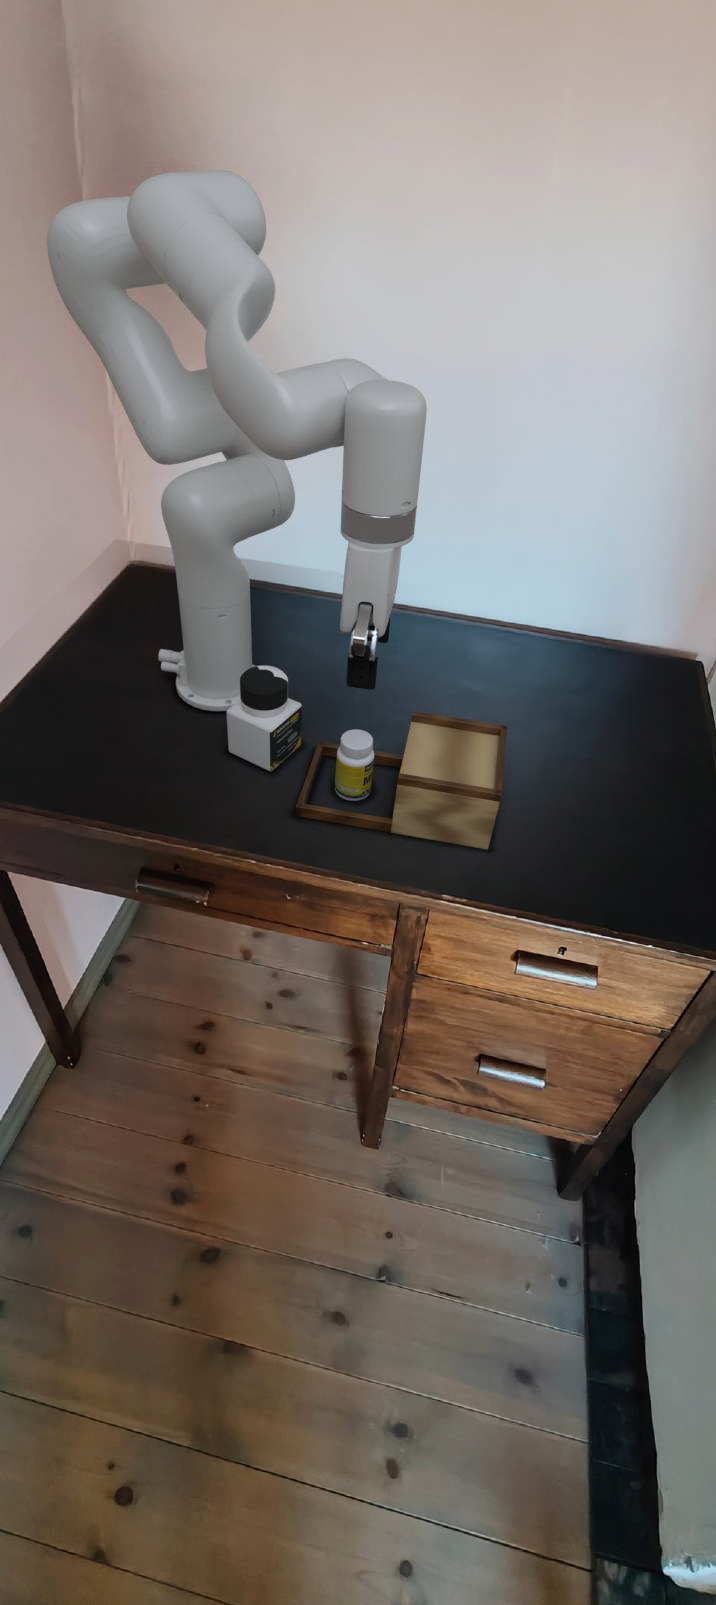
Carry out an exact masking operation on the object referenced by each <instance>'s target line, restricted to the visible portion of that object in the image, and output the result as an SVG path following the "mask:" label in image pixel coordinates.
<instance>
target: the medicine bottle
mask: <svg viewBox="0 0 716 1605" xmlns="http://www.w3.org/2000/svg"><path fill="white" fill-rule="evenodd" d="M240 698H241V699H240V700H239V701H238V702H237V703H235V704H234V705H233V706H232V707H230V708H229V709H228V710H227V711H226V726H227V727H226V729H227V744H228V752H229V753H230V754H232V755H234V756H237V757H238V758H241V759H243V760H245V761H247V762H249V763H251V764H254V765H256V766H258V767H260V768H262V769H264V770H266V771H268V772H273V771H274V770H275V769H276V768H277V767H278V766H280V764H281V763H283V762H284V761H285V760H286V759H287V758H289V756H290V755H291V754H293V753H294V752H295V751H296V750H297V749H298V748H299V747H300V746H301V744H302V717H303V716H302V715H303V714H302V712H303V711H302V710H303V709H302V708H303V705H302V703H301V702H299V701H296V700H294V699H292V698H290V697H289V678H288V676H287V674H286V673H285V672H284V671H283V670H281V669H280V668H278V667H275V666H271V665H255V667H252V668H250V669H248V670H246V671H245V672H244V673H243V674H242V675H241V677H240Z"/></svg>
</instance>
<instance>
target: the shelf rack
mask: <svg viewBox="0 0 716 1605" xmlns="http://www.w3.org/2000/svg"><path fill="white" fill-rule="evenodd" d="M507 734H508V726H507V725H504V724H503V725H502V724H497V723H491V722H484V721H477V720H474V719H473V720H472V719H466V718H462V717H461V718H460V717H454V716H447V715H443V714H435V713H429V712H424V711H417V710H412V714H411V719H410V724H409V730H408V733H407V738H406V743H405V747H404V752H403V755H401V754H395V753H389V752H383V751H377V750H373V751H374V765H379V766H385V767H391V768H396V769H399V773H398V776H397V782H396V784H397V785H396V789H395V790H396V792H395V797H394V805H393V812H392V818H388V817H382V816H377V815H372V814H365V813H360V812H353V811H349V810H343V809H338V808H337V809H336V808H331V807H325V806H320V805H314V804H308V800H309V796H310V794H311V791H312V788H313V786H314V782H315V779H316V777H317V773H318V770H319V767H320V764H321V761H322V758H323V756H327V757H333V758H337V751H338V748H339V747H340V744H335V743H329V742H324V741H318V742H317V744H316V747H315V751H314V753H313V756H312V759H311V762H310V764H309V768H308V771H307V774H306V777H305V779H304V782H303V785H302V788H301V791H300V794H299V797H298V800H297V802H296V805H295V816H297V817H300V818H307V819H313V820H319V821H323V822H324V821H325V822H330V823H334V824H341V825H347V826H353V827H357V828H363V829H370V830H373V831H380V832H386V833H392V834H398V835H403V836H409V837H415V838H420V839H426V840H430V841H431V840H432V841H436V842H442V843H447V844H454V845H460V846H466V847H470V848H477V849H482V850H489V846H490V843H491V838H492V834H493V830H494V827H495V822H496V819H497V815H498V811H499V807H500V802H501V800H502V794H503V783H504V772H505V771H504V769H505V761H506V760H505V759H506V747H507V736H508V735H507Z"/></svg>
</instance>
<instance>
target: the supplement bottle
mask: <svg viewBox="0 0 716 1605" xmlns="http://www.w3.org/2000/svg"><path fill="white" fill-rule="evenodd" d="M339 745H340V747H339V748H338V751H337V757H336V760H335V761H336V762H335V775H334V776H335V777H334V791H335V793H336V795H337V796H338V797H339V798H341V799H343V800H346V801H350V802H358V801H362V800H365V799H366V798H367V797H369V795H370V793H371V790H372V783H373V774H374V765H375V764H374V751H375V750H374V738H373V736H372V735H371V734H370V733H369V732H368V731H366V730H363V729H349V730H346V731H345V732H343V734H341V737H340V744H339Z"/></svg>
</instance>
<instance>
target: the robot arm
mask: <svg viewBox="0 0 716 1605" xmlns="http://www.w3.org/2000/svg"><path fill="white" fill-rule="evenodd" d="M46 237H47V238H46V245H47V246H46V247H47V256H48V262H49V267H50V272H51V275H52V277H53V280H54V284H55V286H56V289H57V291H58V292H57V293H58V294H59V297H60V298H61V300H62V302H63V305H64V306H65V308H66V310H67V312H68V314H69V315H70V316H71V318H72V320H73V321H74V323H75V324H76V326H77V327H78V329H79V330H80V331H81V333H82V334H83V336H84V337H85V338H86V340H87V341H88V342H89V344H90V345H91V347H92V348H93V350H94V351H95V353H96V355H97V356H98V358H99V359H100V362H101V363H102V365H103V367H104V369H105V371H106V373H107V375H108V377H109V380H110V382H111V384H112V386H113V388H114V392H115V393H116V395H117V398H118V399H119V401H120V403H121V405H122V407H123V410H124V412H125V414H126V416H127V418H128V420H129V422H130V424H131V426H132V428H133V431H134V433H135V434H136V437H137V439H138V440H139V443H140V445H141V447H142V448H143V449H144V451H145V452H146V454H147V456H149V457H150V459H151V460H153V462H155V463H157V464H159V465H163V466H165V465H166V466H171V465H178V464H183V463H187V462H190V461H194V460H195V461H196V460H198V459H202V458H205V457H208V456H212V455H215V454H219V453H221V454H222V456H223V457H224V458H225V460H223V461H218V462H215V463H211V464H208V465H204V466H200V467H198V468H197V467H196V468H194V469H192V470H191V469H190V470H189V471H186V472H183V473H181V474H180V475H178V476H177V477H175V478H174V479H172V480H171V481H170V482H169V483H168V485H166V487H165V488H164V491H163V492H162V495H161V500H160V508H161V515H162V519H163V523H164V526H165V530H166V533H167V536H168V541H169V543H170V547H171V552H172V557H173V562H174V569H175V578H176V586H177V594H178V595H177V596H178V605H179V614H180V615H179V616H180V626H181V638H182V646H183V647H182V648H183V649H182V650H181V651H174V650H171V649H164V648H160V649H159V651H158V656H157V657H158V659H157V660H158V662H159V663H161V664H160V671H162V672H167V673H175V674H176V678H175V687H176V688H175V689H176V692H177V694H178V696H179V698H181V699H182V701H184V702H185V703H186V704H188V705H190V706H191V707H193V708H197V709H200V710H203V711H209V712H227V710H228V709H229V708H230V707H232V706H233V705H234V704H235V703H237V702H238V701H239V700H240V699H241V698H240V677H241V675H242V674H243V673H244V672H245V671H246V670H248V669H250V668H252V667H255V666H256V665H255V664H253V642H252V608H251V582H250V581H251V580H250V575H249V571H248V568H247V567H246V565H245V563H244V562H243V560H242V559H241V558H240V557H239V556H237V554H236V552H235V546H236V545H237V544H238V543H241V542H243V541H245V540H247V539H249V538H252V537H254V536H257V535H260V534H262V533H266V532H268V531H270V530H273V529H276V528H278V527H280V526H282V525H284V523H286V522H288V520H289V519H290V518H291V516H292V515H293V512H294V511H295V506H296V492H295V491H296V490H295V486H294V482H293V479H292V476H291V473H290V471H289V467H288V465H287V464H286V461H293V460H297V459H300V458H304V457H307V456H310V455H313V454H316V453H319V452H322V451H325V450H327V449H331V448H340V447H343V453H342V454H343V456H342V480H341V506H340V508H341V510H340V534H341V536H342V537H343V539H344V540H346V541H347V542H348V543H347V548H346V555H345V556H346V557H345V564H344V574H343V584H342V594H341V595H342V596H341V597H342V598H341V606H340V607H341V608H340V609H341V610H340V621H339V630H340V631H341V633H342V634H346V633H347V634H348V633H351V636H350V642H349V643H350V644H349V649H348V653H347V660H346V661H347V665H346V681H345V682H346V686H347V687H348V688H357V689H362V690H363V689H364V690H369V691H373V690H375V689H376V685H377V673H378V662H379V661H378V660H379V657H378V656H376V655H377V648H378V643H381V644H387V643H388V642H389V639H390V627H391V615H392V610H393V608H394V604H395V599H396V594H397V590H398V584H399V583H398V582H399V576H400V567H401V558H402V548H403V546H406V545H408V544H409V543H411V542H412V541H413V540H414V538H415V531H416V521H417V512H418V502H419V501H418V499H419V493H420V492H419V491H420V490H419V489H420V482H421V472H422V463H423V462H422V461H423V452H424V443H425V433H426V421H427V412H428V411H427V410H428V407H427V401H426V397H425V396H424V393H422V392H421V390H420V389H419V388H417V387H415V386H414V385H411V384H409V383H406V382H403V381H397V380H391V379H388V378H386V377H385V376H384V375H382V374H381V373H380V372H378V371H376V370H375V369H374V368H372V367H371V366H370V365H368V364H366V363H365V362H363V361H362V360H358V359H356V358H349V357H346V358H344V357H343V358H337V359H333V360H328V361H324V362H319V363H311V364H308V365H303V366H300V367H294V368H291V369H287V370H282V371H279V372H275V371H274V370H273V369H271V367H269V366H268V364H267V363H265V361H264V360H263V359H262V358H261V357H260V355H258V353H257V352H256V351H255V350H254V348H253V347H252V346H251V344H250V343H249V341H250V340H251V339H253V337H255V335H257V333H258V332H259V331H260V329H262V327H263V325H264V324H266V321H267V319H268V318H269V316H270V314H271V311H272V309H273V306H274V302H275V299H276V282H275V278H274V276H273V273H272V271H271V270H270V268H269V266H267V264H266V263H265V262H264V261H263V259H261V258H260V257H259V255H260V254H261V252H262V251H263V248H264V246H265V242H266V238H267V219H266V214H265V210H264V207H263V204H262V201H261V199H260V197H259V195H258V193H257V192H256V190H255V188H253V186H252V185H251V184H250V183H249V182H248V181H247V180H246V179H245V178H244V177H242V176H241V175H239V174H238V173H235V172H233V171H231V170H224V169H215V170H214V169H213V170H195V171H192V170H191V171H173V172H164V173H160V174H156V175H153V176H150V177H148V178H147V179H145V180H144V181H142V182H141V183H140V184H139V185H138V186H137V187H136V188H135V189H134V191H133V192H132V195H129V196H112V197H100V198H91V199H86V200H85V199H84V200H80V201H77V202H74V203H72V204H69V205H67V206H64V207H63V208H62V209H60V210H59V211H58V212H56V214H55V215H53V218H52V219H51V221H50V224H49V226H48V229H47V234H46ZM160 285H167V286H168V287H169V289H170V290H171V291H172V292H173V293H174V294H175V295H176V297H177V299H179V300H180V301H181V303H182V304H183V305H184V306H185V307H186V309H187V310H188V311H189V312H190V313H191V315H192V316H193V317H194V318H195V319H196V321H198V322H199V324H200V325H201V326H202V327H203V328H204V330H205V338H204V339H205V340H204V348H205V349H204V355H205V362H206V368H202V369H197V370H192V371H191V370H188V369H187V368H186V367H185V366H184V365H183V364H182V362H181V359H180V358H179V356H178V354H177V352H176V350H175V347H174V345H173V341H172V340H171V337H170V335H169V334H168V332H167V331H166V330H165V328H164V327H163V326H162V325H161V323H160V322H159V321H158V320H157V319H156V318H155V317H154V315H152V313H150V311H148V310H147V309H146V308H145V307H143V306H142V305H141V304H140V303H138V302H137V301H135V300H134V299H132V297H130V296H129V294H128V292H127V290H129V289H130V290H131V289H138V288H145V287H152V286H160ZM368 642H371V643H370V645H368V644H367V643H368Z"/></svg>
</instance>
